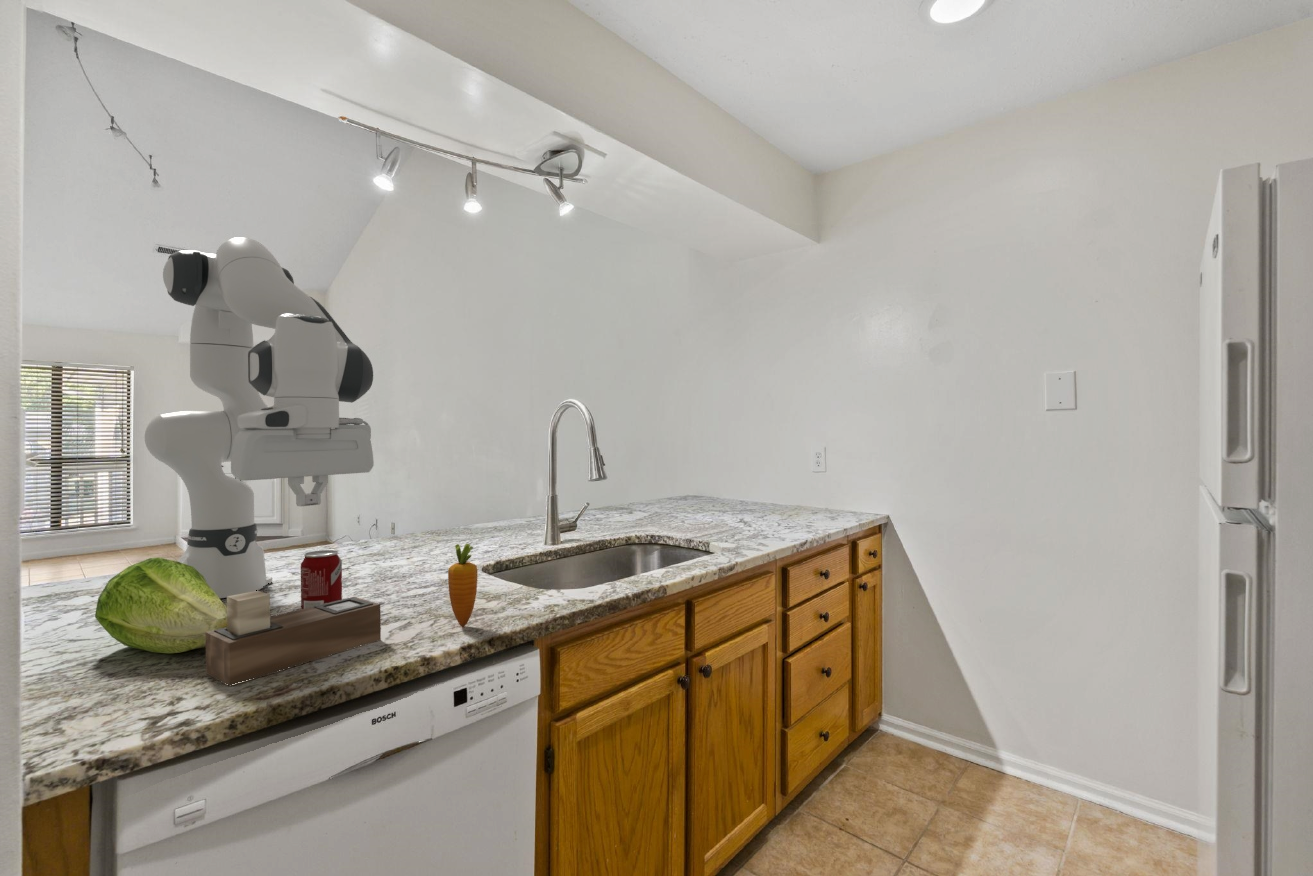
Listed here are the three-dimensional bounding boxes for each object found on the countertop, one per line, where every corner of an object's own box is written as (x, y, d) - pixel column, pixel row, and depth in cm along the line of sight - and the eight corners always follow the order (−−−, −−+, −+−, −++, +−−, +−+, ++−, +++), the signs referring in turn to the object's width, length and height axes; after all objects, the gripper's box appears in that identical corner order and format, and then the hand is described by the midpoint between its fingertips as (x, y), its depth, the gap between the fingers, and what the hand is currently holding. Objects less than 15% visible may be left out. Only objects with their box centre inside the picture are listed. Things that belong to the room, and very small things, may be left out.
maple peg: (227, 637, 88) (226, 596, 88) (257, 630, 91) (257, 590, 91) (239, 643, 86) (238, 601, 85) (270, 635, 89) (269, 594, 89)
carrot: (448, 624, 109) (447, 541, 109) (476, 621, 111) (476, 539, 110) (448, 632, 104) (448, 546, 104) (478, 629, 106) (478, 544, 106)
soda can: (324, 623, 110) (323, 557, 109) (292, 620, 111) (291, 555, 111) (350, 612, 116) (349, 549, 116) (319, 610, 118) (319, 548, 117)
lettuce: (277, 652, 99) (169, 697, 85) (194, 619, 109) (88, 655, 96) (271, 566, 97) (161, 599, 83) (188, 542, 108) (79, 567, 94)
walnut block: (206, 673, 87) (205, 630, 87) (354, 630, 106) (354, 595, 105) (229, 686, 83) (229, 641, 83) (380, 639, 101) (380, 602, 101)
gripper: (359, 418, 105) (360, 497, 105) (225, 416, 88) (226, 511, 88) (380, 417, 102) (381, 499, 102) (245, 415, 85) (246, 514, 85)
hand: (308, 505), depth 95 cm, fingers closed
